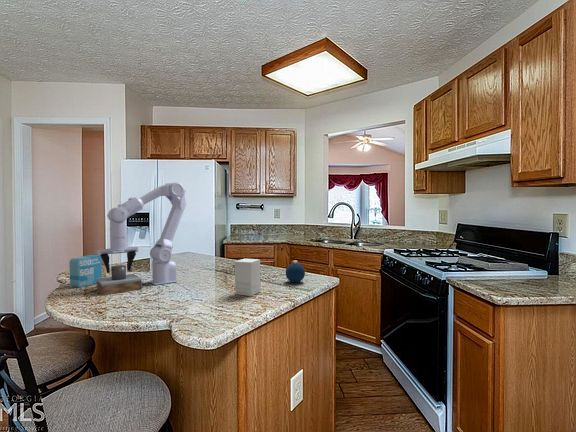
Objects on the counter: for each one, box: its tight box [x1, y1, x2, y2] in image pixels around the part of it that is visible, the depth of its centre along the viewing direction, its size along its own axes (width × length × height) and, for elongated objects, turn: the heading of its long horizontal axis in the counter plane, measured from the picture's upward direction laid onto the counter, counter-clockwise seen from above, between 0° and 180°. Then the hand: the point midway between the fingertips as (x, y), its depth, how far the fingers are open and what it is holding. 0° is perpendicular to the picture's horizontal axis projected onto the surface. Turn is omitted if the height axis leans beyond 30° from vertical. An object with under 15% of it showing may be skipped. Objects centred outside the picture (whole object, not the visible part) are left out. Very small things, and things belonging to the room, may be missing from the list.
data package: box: [69, 254, 103, 288], centre depth 144 cm, size 12×4×12 cm, turn 163°
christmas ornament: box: [285, 260, 306, 284], centre depth 145 cm, size 8×8×10 cm
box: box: [96, 281, 143, 296], centre depth 135 cm, size 14×12×3 cm
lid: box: [97, 273, 142, 286], centre depth 135 cm, size 14×12×1 cm
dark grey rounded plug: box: [110, 264, 127, 280], centre depth 135 cm, size 5×5×5 cm
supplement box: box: [234, 258, 262, 297], centre depth 128 cm, size 7×7×13 cm
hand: (118, 271), depth 135 cm, fingers open, 7 cm apart
